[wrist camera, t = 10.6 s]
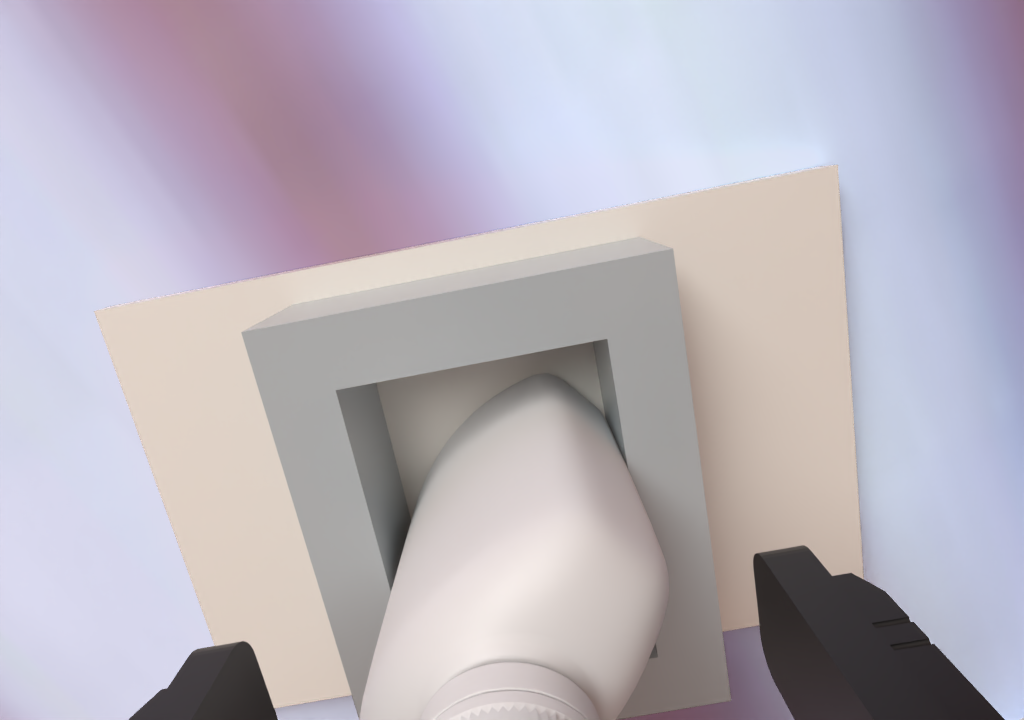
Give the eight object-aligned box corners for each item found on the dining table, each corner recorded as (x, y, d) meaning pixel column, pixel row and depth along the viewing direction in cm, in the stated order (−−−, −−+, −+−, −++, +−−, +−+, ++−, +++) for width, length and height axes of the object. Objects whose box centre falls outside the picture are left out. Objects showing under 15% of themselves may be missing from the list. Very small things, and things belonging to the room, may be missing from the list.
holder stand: (113, 305, 17) (-6, 341, 13) (821, 166, 16) (923, 158, 12) (250, 693, 20) (187, 817, 16) (850, 589, 19) (939, 693, 15)
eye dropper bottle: (636, 501, 17) (907, 1144, 6) (440, 571, 18) (320, 1296, 6) (580, 352, 16) (769, 763, 5) (373, 431, 17) (73, 983, 5)
